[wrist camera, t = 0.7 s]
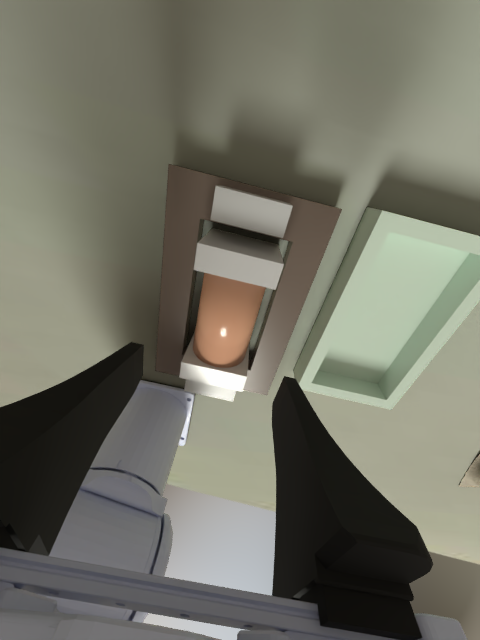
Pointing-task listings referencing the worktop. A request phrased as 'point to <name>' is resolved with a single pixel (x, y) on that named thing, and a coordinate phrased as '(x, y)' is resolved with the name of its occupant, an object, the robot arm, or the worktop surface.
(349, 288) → the parts tray
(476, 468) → the condiment
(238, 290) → the fuse
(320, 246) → the frame
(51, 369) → the worktop surface
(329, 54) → the worktop surface
